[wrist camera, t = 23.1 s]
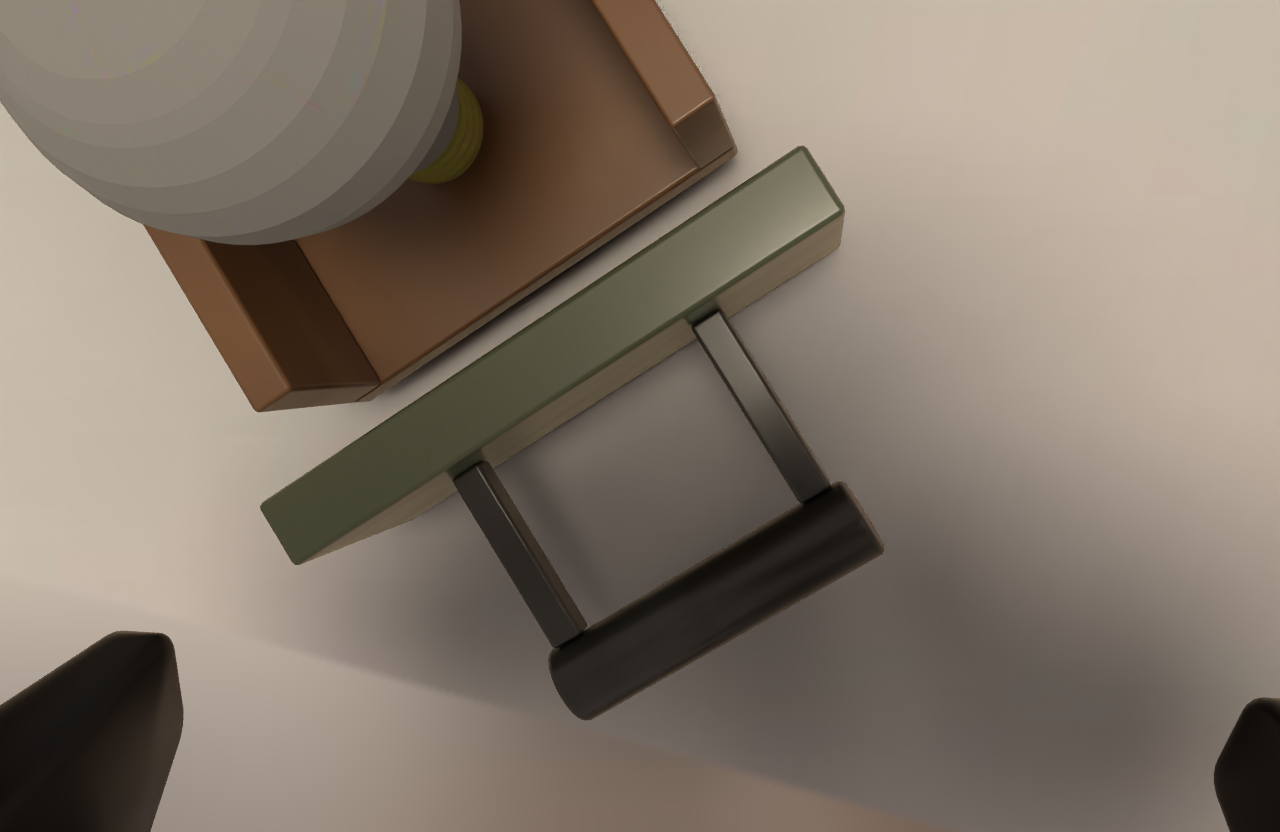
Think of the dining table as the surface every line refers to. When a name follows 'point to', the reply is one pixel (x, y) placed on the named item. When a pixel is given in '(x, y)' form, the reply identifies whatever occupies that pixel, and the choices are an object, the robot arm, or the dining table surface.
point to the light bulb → (241, 106)
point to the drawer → (543, 325)
